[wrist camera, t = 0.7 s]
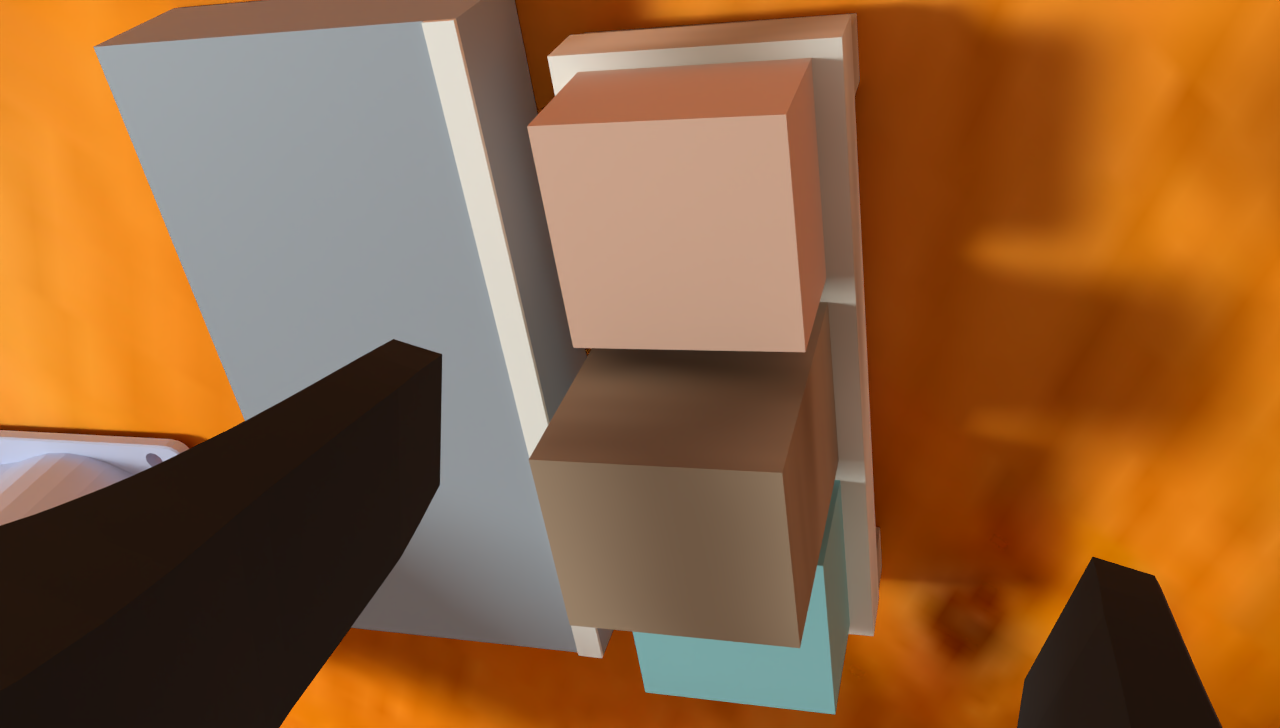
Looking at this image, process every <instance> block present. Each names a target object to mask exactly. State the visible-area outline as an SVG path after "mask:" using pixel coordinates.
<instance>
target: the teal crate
mask: <svg viewBox="0 0 1280 728" xmlns="http://www.w3.org/2000/svg"><path fill="white" fill-rule="evenodd" d="M849 627H850V618H849V603H848V589H847V574H846V559H845V544H844V530H843V515H842V500H841V485H840V480H835V481H834V486H833V491H832V496H831V501H830V505H829V510H828V515H827V520H826V525H825V530H824V535H823V539H822V544H821V549H820V554H819V559H818V564H817V569H816V573H815V578H814V583H813V588H812V593H811V598H810V603H809V607H808V612H807V617H806V622H805V627H804V632H803V637H802V641H801V646H800V648H792V647H782V646H772V645H762V644H752V643H742V642H732V641H722V640H712V639H702V638H692V637H682V636H672V635H662V634H652V633H642V632H633V636H634V640H635V645H636V650H637V655H638V660H639V664H640V669H641V674H642V679H643V683H644V688H645V692H646V693H655V694H664V695H672V696H681V697H689V698H698V699H706V700H715V701H724V702H732V703H741V704H749V705H758V706H766V707H775V708H784V709H792V710H801V711H809V712H818V713H826V714H835V713H836V707H837V701H838V695H839V688H840V682H841V676H842V670H843V664H844V658H845V651H846V645H847V639H848V633H849Z"/></svg>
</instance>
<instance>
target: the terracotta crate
mask: <svg viewBox="0 0 1280 728" xmlns="http://www.w3.org/2000/svg"><path fill="white" fill-rule="evenodd" d="M527 129H528V134H529V138H530V143H531V148H532V153H533V157H534V162H535V167H536V172H537V177H538V181H539V186H540V191H541V196H542V201H543V205H544V210H545V215H546V220H547V224H548V229H549V234H550V239H551V244H552V248H553V253H554V258H555V263H556V267H557V272H558V277H559V282H560V287H561V291H562V296H563V301H564V306H565V311H566V315H567V320H568V325H569V330H570V334H571V339H572V344H573V348H608V349H660V350H712V351H764V352H806V349H807V345H808V342H809V338H810V335H811V331H812V328H813V324H814V320H815V317H816V313H817V310H818V306H819V303H820V299H821V295H822V292H823V288H824V285H825V281H826V264H825V249H824V235H823V220H822V205H821V190H820V176H819V161H818V146H817V131H816V117H815V102H814V87H813V72H812V58H799V59H783V60H766V61H750V62H733V63H717V64H700V65H684V66H668V67H651V68H635V69H618V70H602V71H585V72H577V73H576V74H575V75H574V77H573V78H572V79H571V80H570V81H569V82H568V83H567V84H566V85H565V86H564V87H563V88H562V89H561V90H560V91H559V93H558V94H557V95H556V96H555V97H554V98H553V99H552V100H551V101H550V102H549V103H548V104H547V105H546V106H545V108H544V109H543V110H542V111H541V112H540V113H539V114H538V115H537V116H536V117H535V118H534V119H533V120H532V121H531V123H530V124H529V125H528V126H527Z"/></svg>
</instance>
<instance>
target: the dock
mask: <svg viewBox="0 0 1280 728" xmlns="http://www.w3.org/2000/svg"><path fill="white" fill-rule="evenodd" d="M94 49H95V52H96V54H97V57H98V59H99V62H100V64H101V66H102V69H103V71H104V74H105V76H106V79H107V81H108V84H109V86H110V89H111V91H112V94H113V96H114V99H115V101H116V103H117V106H118V108H119V111H120V113H121V116H122V118H123V121H124V123H125V126H126V128H127V131H128V133H129V136H130V138H131V141H132V143H133V145H134V148H135V150H136V153H137V155H138V158H139V160H140V163H141V165H142V168H143V170H144V173H145V175H146V178H147V180H148V182H149V185H150V187H151V190H152V192H153V195H154V197H155V200H156V202H157V205H158V207H159V210H160V212H161V215H162V217H163V219H164V222H165V224H166V227H167V229H168V232H169V234H170V237H171V239H172V242H173V244H174V247H175V249H176V252H177V254H178V256H179V259H180V261H181V264H182V266H183V269H184V271H185V274H186V276H187V279H188V281H189V284H190V286H191V289H192V291H193V293H194V296H195V298H196V301H197V303H198V306H199V308H200V311H201V313H202V316H203V318H204V321H205V323H206V326H207V328H208V331H209V333H210V335H211V338H212V340H213V343H214V345H215V348H216V350H217V353H218V355H219V358H220V360H221V363H222V365H223V368H224V370H225V372H226V375H227V377H228V380H229V382H230V385H231V387H232V390H233V392H234V395H235V397H236V400H237V402H238V405H239V407H240V409H241V412H242V414H243V417H244V419H245V421H246V420H248V419H250V418H252V417H253V416H255V415H257V414H259V413H261V412H263V411H265V410H266V409H268V408H270V407H272V406H274V405H276V404H278V403H279V402H281V401H283V400H285V399H287V398H289V397H290V396H292V395H294V394H296V393H297V392H299V391H301V390H303V389H305V388H306V387H308V386H310V385H312V384H314V383H315V382H317V381H319V380H321V379H322V378H324V377H326V376H328V375H329V374H331V373H333V372H335V371H337V370H338V369H340V368H342V367H344V366H345V365H347V364H349V363H351V362H353V361H354V360H356V359H358V358H360V357H361V356H363V355H365V354H367V353H369V352H371V351H372V350H374V349H376V348H378V347H380V346H381V345H383V344H385V343H387V342H389V341H391V340H393V339H395V340H398V341H401V342H405V343H408V344H411V345H414V346H417V347H421V348H424V349H427V350H430V351H434V352H437V353H440V354H442V401H441V458H440V486H439V488H438V490H437V492H436V493H435V495H434V497H433V499H432V501H431V503H430V505H429V507H428V509H427V511H426V512H425V514H424V516H423V518H422V520H421V522H420V524H419V526H418V528H417V529H416V531H415V533H414V535H413V537H412V538H411V540H410V542H409V544H408V546H407V547H406V549H405V551H404V553H403V554H402V556H401V558H400V559H399V561H398V562H397V564H396V565H395V567H394V568H393V569H392V571H391V572H390V574H389V575H388V577H387V578H386V579H385V581H384V582H383V584H382V585H381V586H380V588H379V589H378V591H377V592H376V593H375V595H374V596H373V598H372V599H371V600H370V602H369V603H368V605H367V606H366V607H365V609H364V610H363V612H362V613H361V614H360V616H359V617H358V618H357V620H356V621H355V623H354V624H353V625H352V627H351V628H359V629H368V630H377V631H387V632H396V633H405V634H414V635H423V636H433V637H442V638H451V639H460V640H469V641H478V642H488V643H497V644H506V645H515V646H524V647H534V648H543V649H552V650H561V651H570V652H578V656H586V657H595V658H603V655H604V652H605V650H606V647H607V645H608V642H609V640H610V637H611V635H612V632H613V630H612V629H602V628H592V627H582V626H572V625H570V624H569V620H568V616H567V612H566V608H565V604H564V600H563V596H562V592H561V588H560V584H559V580H558V576H557V572H556V568H555V564H554V560H553V556H552V552H551V548H550V544H549V539H548V535H547V531H546V527H545V523H544V519H543V515H542V511H541V507H540V503H539V499H538V495H537V491H536V487H535V483H534V479H533V475H532V471H531V467H530V463H529V458H530V456H531V455H532V453H533V451H534V449H535V448H536V446H537V444H538V442H539V441H540V439H541V437H542V435H543V433H544V432H545V430H546V428H547V426H548V425H549V423H550V421H551V419H552V418H553V416H554V414H555V412H556V411H557V409H558V407H559V405H560V404H561V402H562V400H563V398H564V397H565V395H566V393H567V391H568V390H569V388H570V386H571V384H572V383H573V381H574V379H575V377H576V375H577V374H578V372H579V370H580V368H581V367H582V365H583V363H584V361H585V360H586V358H587V354H586V350H585V348H573V344H572V339H571V334H570V330H569V325H568V320H567V315H566V311H565V306H564V301H563V296H562V291H561V287H560V282H559V277H558V272H557V267H556V263H555V258H554V253H553V248H552V244H551V239H550V234H549V229H548V224H547V220H546V215H545V210H544V205H543V201H542V196H541V191H540V186H539V181H538V177H537V172H536V167H535V162H534V157H533V153H532V148H531V143H530V138H529V134H528V129H527V126H528V125H529V124H530V123H531V121H532V120H533V119H534V118H535V117H536V116H537V115H538V113H537V108H536V103H535V98H534V93H533V88H532V83H531V78H530V73H529V68H528V63H527V58H526V53H525V49H524V44H523V39H522V34H521V29H520V24H519V19H518V14H517V9H516V4H515V0H262V1H251V2H240V3H229V4H217V5H206V6H195V7H184V8H174V9H172V10H170V11H167V12H165V13H163V14H161V15H159V16H157V17H155V18H153V19H151V20H149V21H147V22H145V23H142V24H140V25H138V26H136V27H134V28H132V29H130V30H128V31H126V32H124V33H122V34H119V35H117V36H115V37H113V38H111V39H109V40H107V41H105V42H103V43H101V44H99V45H97V46H94Z"/></svg>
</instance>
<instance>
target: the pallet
mask: <svg viewBox="0 0 1280 728" xmlns="http://www.w3.org/2000/svg"><path fill="white" fill-rule="evenodd" d="M547 58H548V63H549V68H550V73H551V78H552V84H553V89H554V94H555V96H556V95H557V94H558V93H559V91H560V90H561V89H562V88H563V87H564V86H565V85H566V84H567V83H568V82H569V81H570V80H571V79H572V78H573V77H574V75H575V74H576V73H577V72H585V71H602V70H618V69H635V68H651V67H668V66H684V65H700V64H717V63H733V62H750V61H766V60H783V59H799V58H812V72H813V87H814V102H815V117H816V131H817V146H818V161H819V176H820V190H821V205H822V220H823V235H824V249H825V264H826V281H825V285H824V288H823V292H822V295H821V299H820V303H819V306H818V310H817V313H816V317H815V320H814V324H813V328H812V331H811V335H810V338H809V342H808V345H807V349H806V352H764V351H712V350H660V349H608V348H592V349H591V351H590V353H589V354H588V356H587V358H586V360H585V361H584V363H583V365H582V367H581V368H580V370H579V372H578V374H577V375H576V377H575V379H574V381H573V383H572V384H571V386H570V388H569V390H568V391H567V393H566V395H565V397H564V398H563V400H562V402H561V404H560V405H559V407H558V409H557V411H556V412H555V414H554V416H553V418H552V419H551V421H550V423H549V425H548V426H547V428H546V430H545V432H544V433H543V435H542V437H541V439H540V441H539V442H538V444H537V446H536V448H535V449H534V451H533V453H532V455H531V456H530V458H529V463H530V467H531V471H532V475H533V479H534V483H535V487H536V491H537V495H538V499H539V503H540V507H541V511H542V515H543V519H544V523H545V527H546V531H547V535H548V539H549V544H550V548H551V552H552V556H553V560H554V564H555V568H556V572H557V576H558V580H559V584H560V588H561V592H562V596H563V600H564V604H565V608H566V612H567V616H568V620H569V624H570V625H572V626H582V627H592V628H602V629H612V630H622V631H632V632H642V633H652V634H662V635H672V636H682V637H692V638H702V639H712V640H722V641H732V642H742V643H752V644H762V645H772V646H782V647H792V648H800V646H801V641H802V637H803V632H804V627H805V622H806V617H807V612H808V607H809V603H810V598H811V593H812V588H813V583H814V578H815V573H816V569H817V564H818V559H819V554H820V549H821V544H822V539H823V535H824V530H825V525H826V520H827V515H828V510H829V505H830V501H831V496H832V491H833V486H834V481H835V480H840V485H841V500H842V515H843V530H844V544H845V559H846V574H847V589H848V603H849V618H850V627H849V633H848V634H856V635H866V636H874V630H875V622H876V615H877V608H878V601H879V585H880V577H881V570H882V558H881V536H880V528H879V527H876V526H875V506H874V485H873V464H872V443H871V423H870V402H869V381H868V360H867V340H866V319H865V298H864V277H863V257H862V236H861V215H860V194H859V174H858V153H857V132H856V111H855V94H856V91H857V88H858V85H859V82H860V74H859V52H858V30H857V13H851V14H837V15H823V16H809V17H795V18H781V19H767V20H753V21H739V22H725V23H711V24H697V25H683V26H669V27H655V28H641V29H627V30H613V31H599V32H585V33H584V34H576V35H569V36H568V37H567V38H566V39H565V40H564V41H563V42H562V43H561V44H560V45H559V46H558V47H557V48H556V49H555V50H553V51H552V52H551V53H550V54H549V55H548V56H547Z"/></svg>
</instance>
